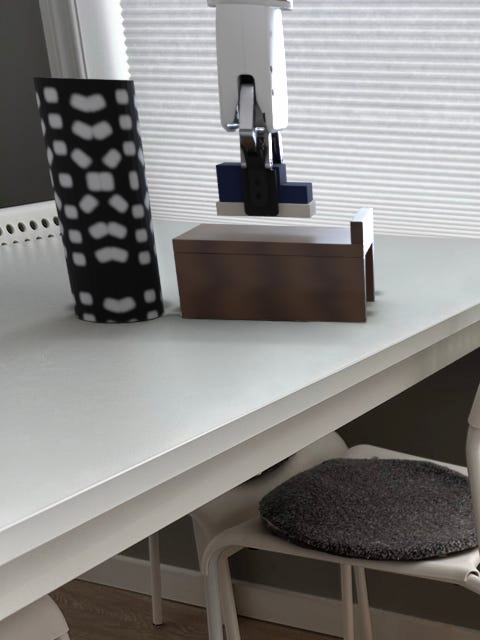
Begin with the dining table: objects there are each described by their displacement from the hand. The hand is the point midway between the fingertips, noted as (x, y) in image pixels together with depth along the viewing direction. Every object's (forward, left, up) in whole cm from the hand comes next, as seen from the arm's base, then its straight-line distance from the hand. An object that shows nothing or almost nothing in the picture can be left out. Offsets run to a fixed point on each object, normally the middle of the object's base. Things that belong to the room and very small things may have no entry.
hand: (266, 210), depth 93 cm
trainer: (0, 0, 0) cm, 0 cm away
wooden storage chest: (+1, 0, -9) cm, 9 cm away
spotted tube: (-14, -5, -9) cm, 18 cm away
